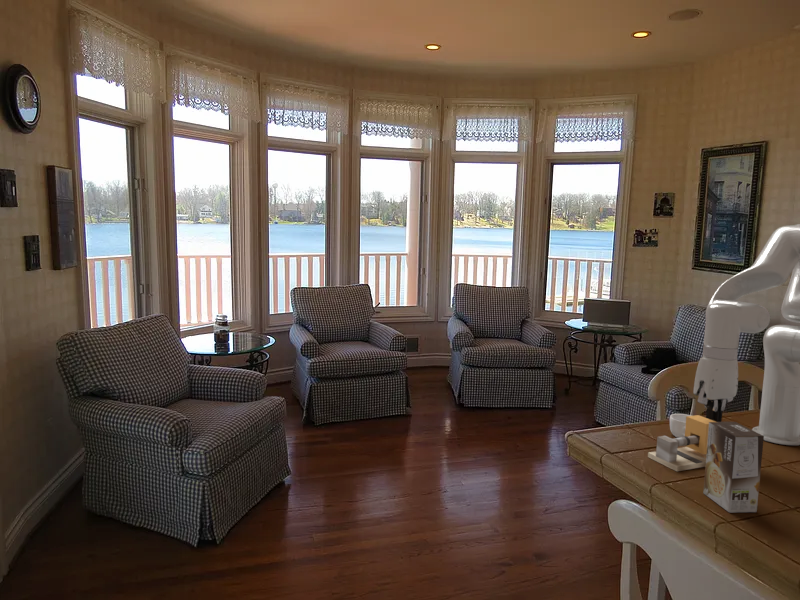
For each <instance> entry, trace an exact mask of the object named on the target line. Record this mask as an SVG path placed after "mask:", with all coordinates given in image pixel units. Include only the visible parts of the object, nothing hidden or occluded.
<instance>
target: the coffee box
mask: <svg viewBox="0 0 800 600" xmlns="http://www.w3.org/2000/svg"><path fill="white" fill-rule="evenodd" d="M764 441H765V440H764V436H763V435H761V434H759V433H757V432H755V431H753V430H752V428H748V427H746V426H744V425H742V424H741V423H738V422H737V421H721V422H709V430H708V442H707V454H706V467H704V469H705V470H704V481H703V495H705V496H706V497H707V498H709V499H711V500H712V501H713V502H715V503H716V504H717V505H718V506H719V507H721V508H722V509H724V510H725V511H726V512H728V513H757V510H758V500H759V491H760V481H761V469H762V459H763V448H764Z"/></svg>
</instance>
